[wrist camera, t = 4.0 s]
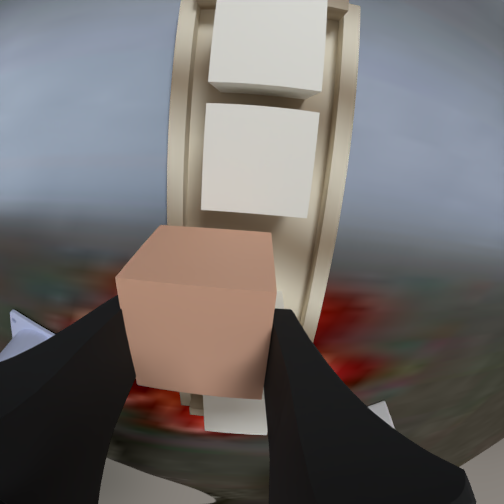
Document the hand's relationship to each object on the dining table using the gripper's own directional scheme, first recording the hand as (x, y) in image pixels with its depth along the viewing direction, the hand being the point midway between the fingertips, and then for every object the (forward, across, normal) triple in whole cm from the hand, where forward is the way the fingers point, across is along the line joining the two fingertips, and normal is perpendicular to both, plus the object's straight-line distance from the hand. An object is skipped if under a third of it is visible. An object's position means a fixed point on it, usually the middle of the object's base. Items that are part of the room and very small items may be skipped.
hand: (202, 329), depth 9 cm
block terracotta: (+3, 0, 0) cm, 3 cm away
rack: (+8, -1, 0) cm, 9 cm away
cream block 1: (+8, -1, -9) cm, 12 cm away
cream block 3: (+8, -1, +10) cm, 13 cm away
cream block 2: (+8, -1, -5) cm, 9 cm away
